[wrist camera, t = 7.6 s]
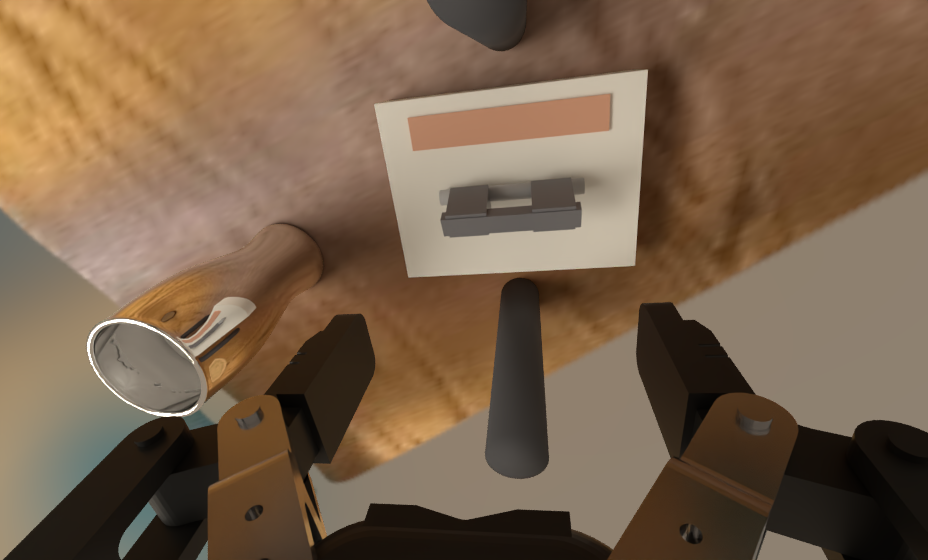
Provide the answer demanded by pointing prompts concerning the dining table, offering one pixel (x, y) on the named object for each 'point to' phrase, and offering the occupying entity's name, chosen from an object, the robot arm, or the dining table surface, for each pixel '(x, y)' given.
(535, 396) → the post
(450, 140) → the breaker panel
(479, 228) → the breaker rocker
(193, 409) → the beer glass
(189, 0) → the dining table surface
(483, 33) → the cable post near arm
